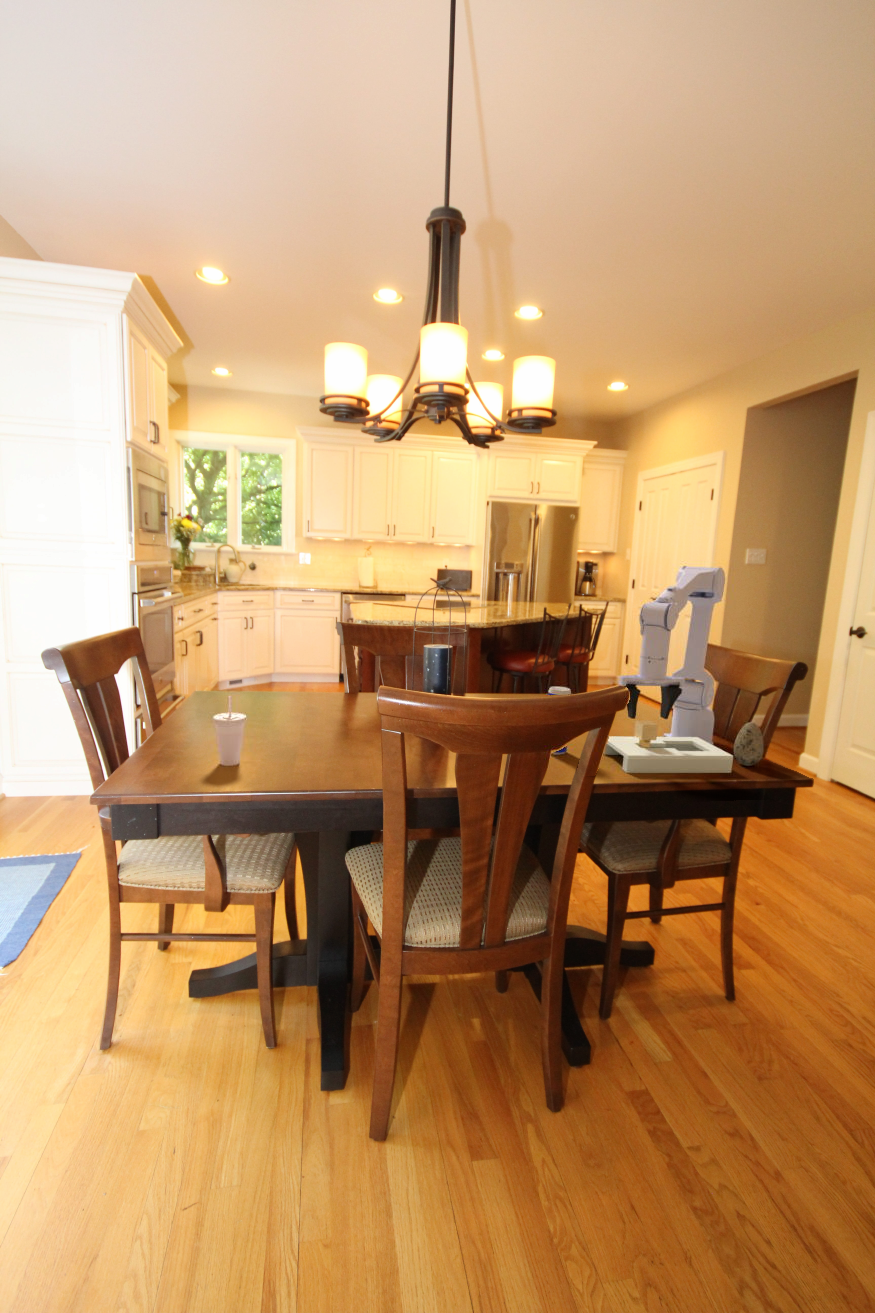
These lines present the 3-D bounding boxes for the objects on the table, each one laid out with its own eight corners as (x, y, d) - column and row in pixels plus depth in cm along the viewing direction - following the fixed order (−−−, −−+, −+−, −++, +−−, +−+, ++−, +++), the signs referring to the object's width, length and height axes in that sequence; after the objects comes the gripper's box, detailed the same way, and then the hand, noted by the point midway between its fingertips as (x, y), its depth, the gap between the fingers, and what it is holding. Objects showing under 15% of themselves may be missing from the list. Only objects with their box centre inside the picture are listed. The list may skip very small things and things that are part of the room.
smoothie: (214, 769, 118) (214, 699, 116) (211, 759, 124) (211, 692, 122) (248, 766, 121) (248, 697, 119) (244, 756, 127) (244, 691, 125)
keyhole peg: (648, 757, 140) (652, 719, 138) (661, 766, 134) (666, 726, 132) (624, 757, 139) (628, 719, 137) (636, 766, 133) (640, 726, 132)
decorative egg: (750, 760, 141) (755, 719, 139) (766, 769, 135) (772, 726, 133) (726, 760, 140) (731, 718, 138) (742, 769, 134) (747, 725, 133)
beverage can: (565, 749, 143) (570, 687, 140) (567, 756, 138) (572, 691, 135) (542, 747, 143) (547, 685, 141) (544, 754, 138) (549, 690, 136)
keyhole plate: (695, 752, 145) (697, 737, 145) (731, 772, 132) (733, 755, 131) (600, 752, 142) (601, 736, 141) (626, 772, 128) (628, 755, 128)
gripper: (630, 659, 127) (624, 722, 130) (695, 661, 129) (688, 722, 132) (616, 654, 134) (611, 713, 136) (677, 655, 136) (671, 714, 138)
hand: (647, 717), depth 134 cm, fingers open, 7 cm apart
